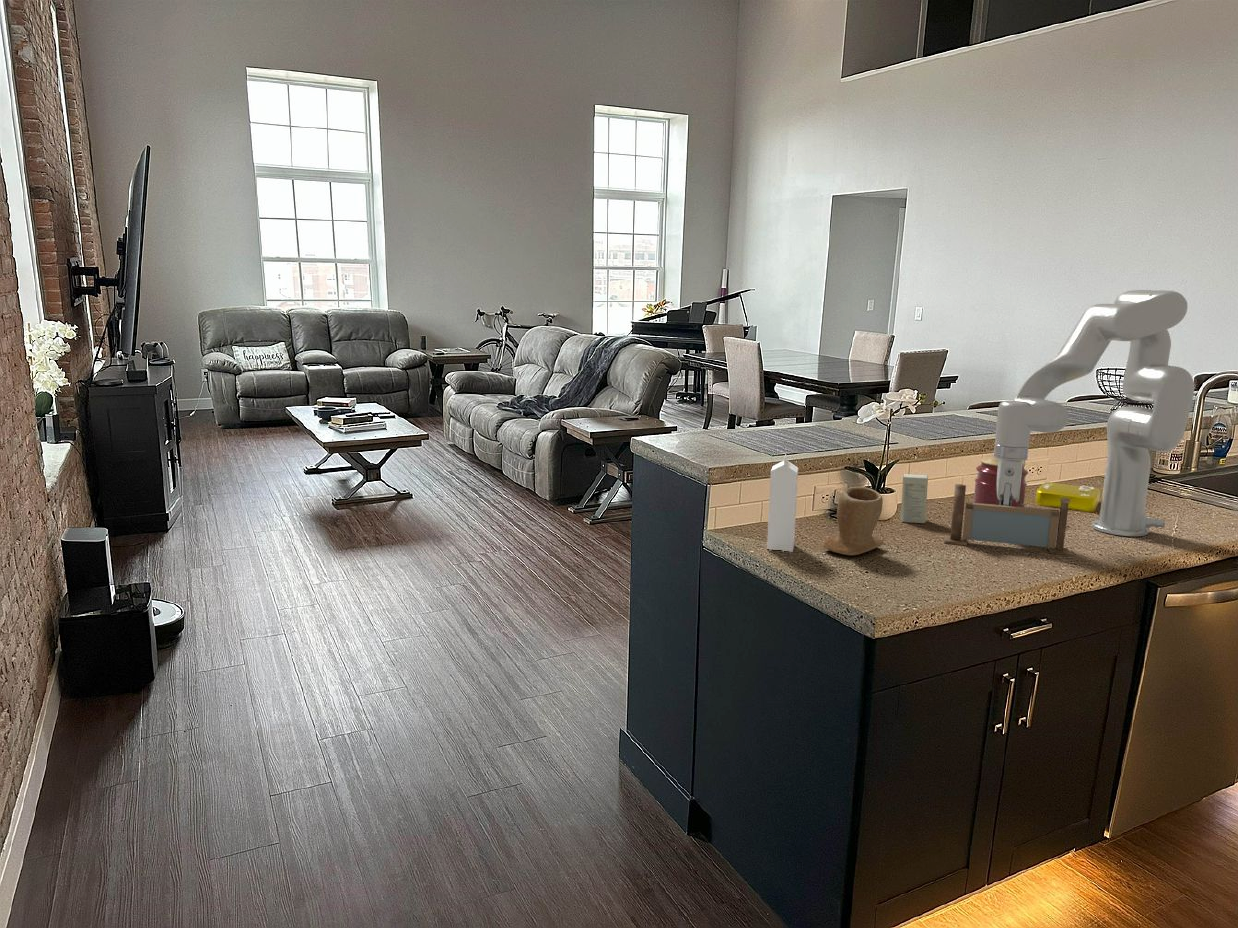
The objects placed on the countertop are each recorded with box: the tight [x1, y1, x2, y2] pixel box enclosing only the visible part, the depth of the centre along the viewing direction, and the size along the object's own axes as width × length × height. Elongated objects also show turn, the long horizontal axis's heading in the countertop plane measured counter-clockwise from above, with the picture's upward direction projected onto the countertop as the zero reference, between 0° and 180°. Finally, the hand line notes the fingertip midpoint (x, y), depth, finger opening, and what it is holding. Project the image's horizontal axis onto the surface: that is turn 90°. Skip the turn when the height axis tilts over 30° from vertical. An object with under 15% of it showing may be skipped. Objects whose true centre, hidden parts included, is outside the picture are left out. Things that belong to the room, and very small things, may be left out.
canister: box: [972, 454, 1029, 507], centre depth 231 cm, size 13×13×18 cm
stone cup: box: [822, 486, 885, 556], centre depth 196 cm, size 15×12×15 cm
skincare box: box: [900, 473, 929, 524], centre depth 222 cm, size 6×4×12 cm
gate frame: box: [943, 483, 1071, 556], centre depth 200 cm, size 27×5×14 cm, turn 71°
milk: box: [766, 453, 799, 553], centre depth 197 cm, size 6×6×22 cm
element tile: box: [1034, 481, 1101, 513], centre depth 243 cm, size 15×15×5 cm
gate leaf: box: [962, 501, 1060, 548], centre depth 200 cm, size 20×2×9 cm, turn 71°
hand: (1002, 525), depth 208 cm, fingers closed
